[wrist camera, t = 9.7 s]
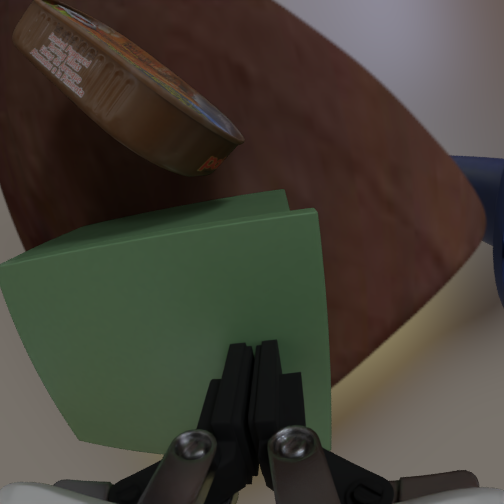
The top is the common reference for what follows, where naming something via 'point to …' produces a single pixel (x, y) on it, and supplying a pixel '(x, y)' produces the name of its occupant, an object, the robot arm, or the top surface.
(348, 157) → the top surface
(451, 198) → the top surface
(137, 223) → the chest
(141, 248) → the lid
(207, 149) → the tin
